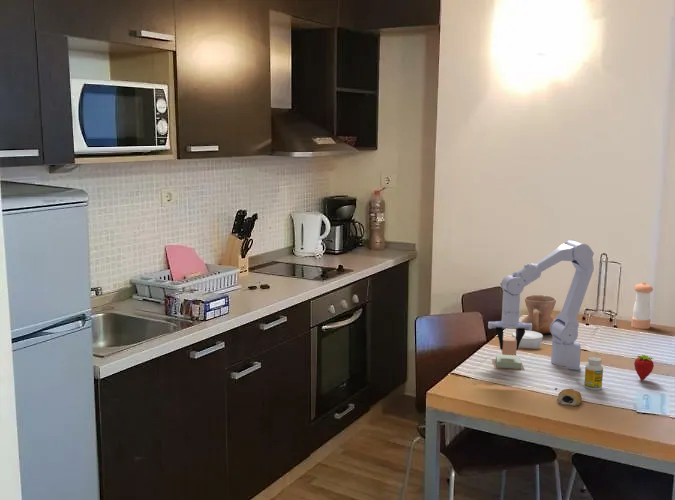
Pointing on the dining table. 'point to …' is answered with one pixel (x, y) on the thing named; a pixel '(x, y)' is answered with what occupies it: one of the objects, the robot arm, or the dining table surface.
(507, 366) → the tower top
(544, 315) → the ceramic jug
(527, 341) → the ramekin
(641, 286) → the pepper shaker
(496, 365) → the tower base
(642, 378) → the strawberry
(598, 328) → the dining table surface
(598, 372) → the supplement bottle
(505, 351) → the terracotta block
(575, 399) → the pastry
